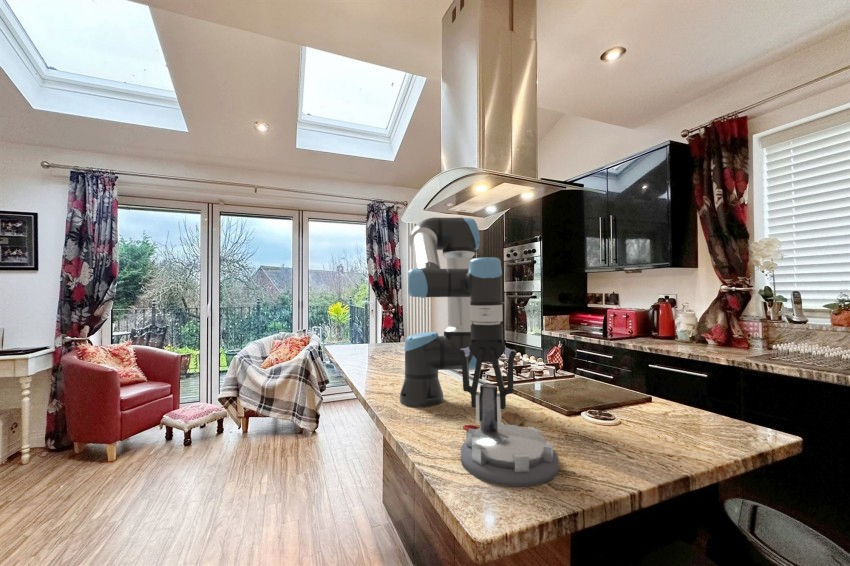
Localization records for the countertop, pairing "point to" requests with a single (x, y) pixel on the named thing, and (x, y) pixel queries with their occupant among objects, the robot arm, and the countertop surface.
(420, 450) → the countertop surface
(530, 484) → the base plate
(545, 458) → the tabbed dome lid
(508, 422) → the shard
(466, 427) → the cayenne pepper
